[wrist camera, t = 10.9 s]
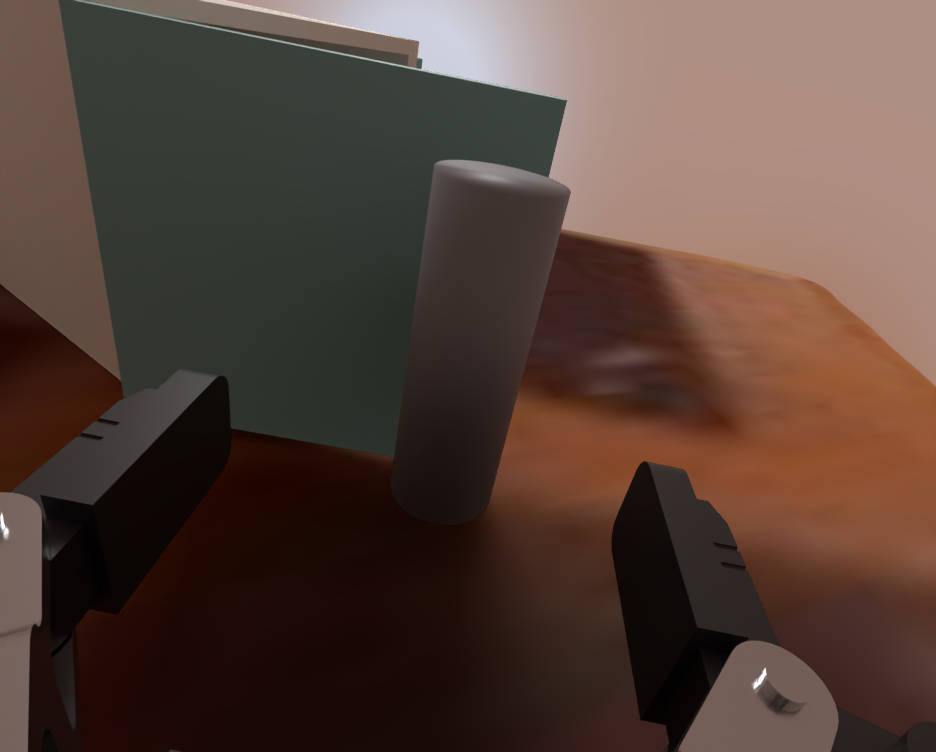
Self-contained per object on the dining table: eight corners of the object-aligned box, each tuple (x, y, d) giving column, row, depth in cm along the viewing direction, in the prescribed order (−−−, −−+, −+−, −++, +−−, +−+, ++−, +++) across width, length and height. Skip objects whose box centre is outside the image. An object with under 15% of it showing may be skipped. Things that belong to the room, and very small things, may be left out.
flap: (472, 592, 17) (600, 124, 10) (14, 514, 16) (-164, -30, 10) (481, 459, 22) (567, 99, 16) (137, 398, 22) (78, -1, 15)
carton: (396, 312, 33) (429, 43, 26) (147, 402, 22) (88, -21, 15) (231, 229, 40) (222, -1, 33) (-22, 267, 29) (-116, -67, 22)
